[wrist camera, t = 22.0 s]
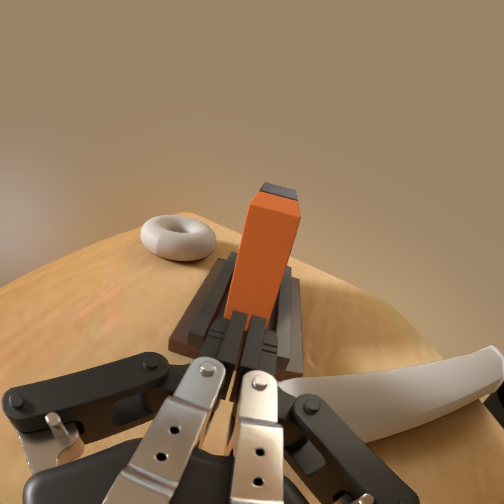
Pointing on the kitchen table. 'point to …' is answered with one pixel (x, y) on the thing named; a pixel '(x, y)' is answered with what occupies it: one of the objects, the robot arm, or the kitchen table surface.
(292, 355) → the dark brown slotted holder
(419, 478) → the kitchen table surface
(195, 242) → the donut
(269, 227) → the orange rectangular block
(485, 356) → the tube
